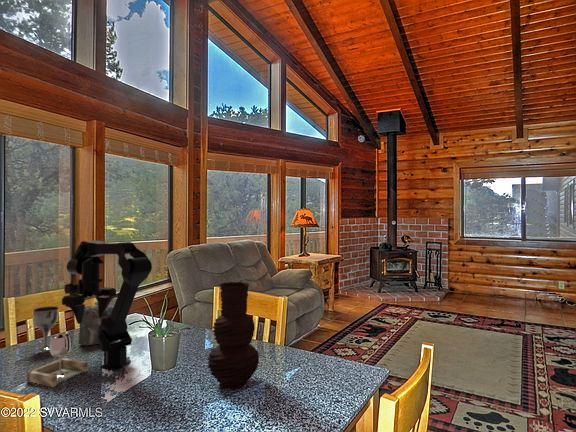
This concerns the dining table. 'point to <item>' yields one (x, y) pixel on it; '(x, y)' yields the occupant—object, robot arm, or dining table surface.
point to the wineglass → (60, 349)
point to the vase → (233, 339)
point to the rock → (92, 323)
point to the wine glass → (45, 321)
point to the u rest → (46, 372)
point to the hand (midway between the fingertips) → (90, 320)
